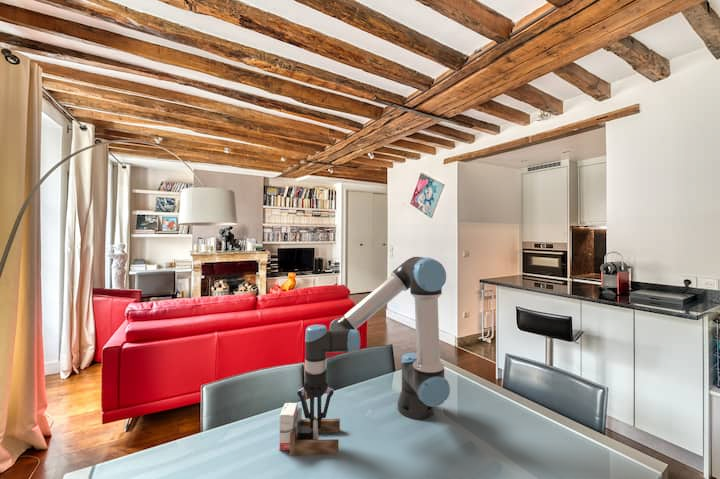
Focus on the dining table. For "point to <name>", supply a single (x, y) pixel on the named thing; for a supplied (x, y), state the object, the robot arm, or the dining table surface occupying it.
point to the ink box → (287, 424)
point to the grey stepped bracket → (302, 428)
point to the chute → (316, 445)
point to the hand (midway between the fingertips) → (315, 436)
